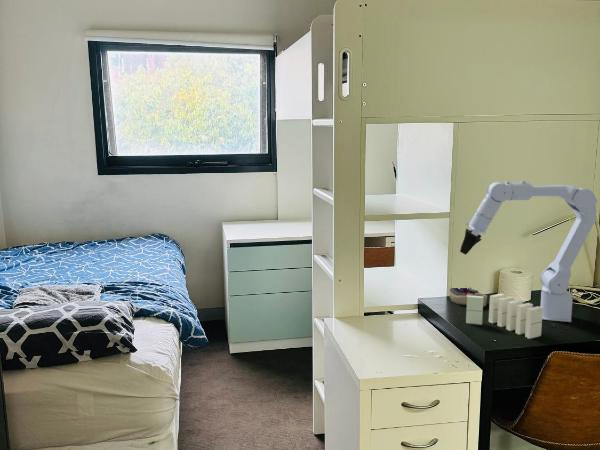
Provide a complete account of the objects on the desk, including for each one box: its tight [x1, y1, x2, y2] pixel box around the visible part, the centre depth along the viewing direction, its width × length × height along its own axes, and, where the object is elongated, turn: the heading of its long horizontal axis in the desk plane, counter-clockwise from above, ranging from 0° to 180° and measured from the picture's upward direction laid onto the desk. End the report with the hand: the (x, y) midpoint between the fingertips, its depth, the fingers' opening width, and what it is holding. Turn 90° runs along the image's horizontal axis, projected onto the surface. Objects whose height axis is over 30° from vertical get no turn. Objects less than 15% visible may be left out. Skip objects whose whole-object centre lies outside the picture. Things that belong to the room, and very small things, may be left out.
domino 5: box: [515, 302, 534, 335], centre depth 170 cm, size 2×5×9 cm, turn 116°
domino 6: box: [524, 305, 543, 340], centre depth 167 cm, size 2×5×9 cm, turn 116°
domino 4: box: [505, 299, 524, 332], centre depth 173 cm, size 2×5×9 cm, turn 116°
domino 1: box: [465, 295, 484, 326], centre depth 179 cm, size 2×5×9 cm, turn 72°
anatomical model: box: [448, 287, 488, 307], centre depth 201 cm, size 12×16×5 cm
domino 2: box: [488, 293, 506, 324], centre depth 180 cm, size 2×5×9 cm, turn 117°
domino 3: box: [496, 296, 515, 328], centre depth 177 cm, size 2×5×9 cm, turn 116°
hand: (463, 251), depth 183 cm, fingers open, 7 cm apart
